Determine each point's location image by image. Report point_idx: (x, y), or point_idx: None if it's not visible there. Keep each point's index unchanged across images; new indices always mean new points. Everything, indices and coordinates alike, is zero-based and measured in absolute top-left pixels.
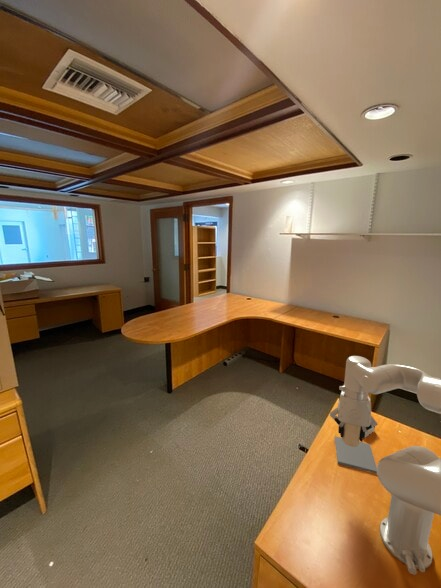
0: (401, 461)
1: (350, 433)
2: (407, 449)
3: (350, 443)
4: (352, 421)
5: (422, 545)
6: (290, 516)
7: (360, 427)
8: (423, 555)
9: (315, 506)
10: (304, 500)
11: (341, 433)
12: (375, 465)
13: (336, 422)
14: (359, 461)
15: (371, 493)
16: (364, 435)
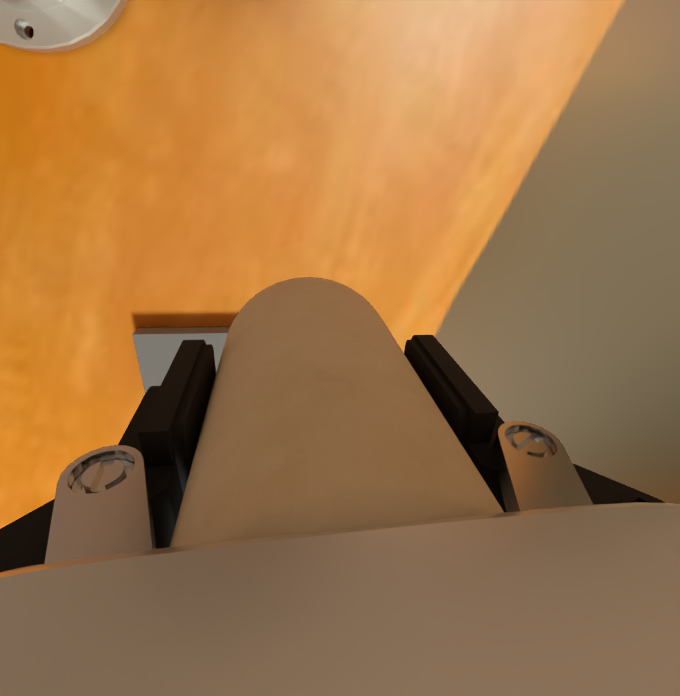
0: None
1: (366, 356)
2: None
3: (326, 289)
4: (481, 644)
5: None
6: None
7: (182, 512)
8: None
9: (471, 13)
10: (521, 37)
11: (450, 359)
12: (142, 365)
13: (603, 479)
14: (218, 364)
15: (173, 199)
16: (139, 413)
